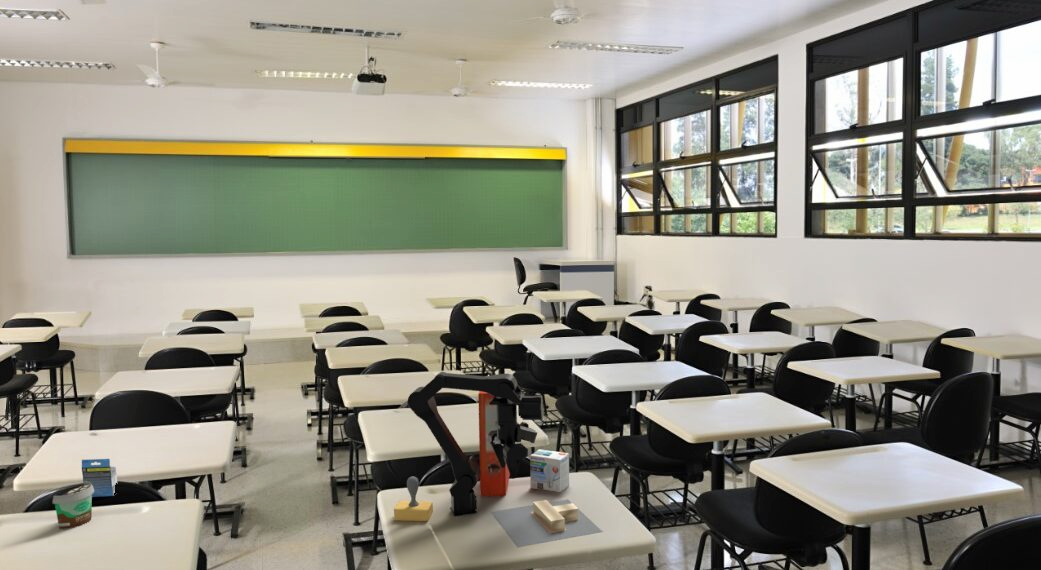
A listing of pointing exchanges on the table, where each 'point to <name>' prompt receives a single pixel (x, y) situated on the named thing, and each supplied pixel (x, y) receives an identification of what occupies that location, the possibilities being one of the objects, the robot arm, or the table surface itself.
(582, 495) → the table surface
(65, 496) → the food container
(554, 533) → the mat
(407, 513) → the rubber stamp
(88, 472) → the label tape box
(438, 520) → the table surface
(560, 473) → the light bulb box
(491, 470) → the file binder
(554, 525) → the t block
